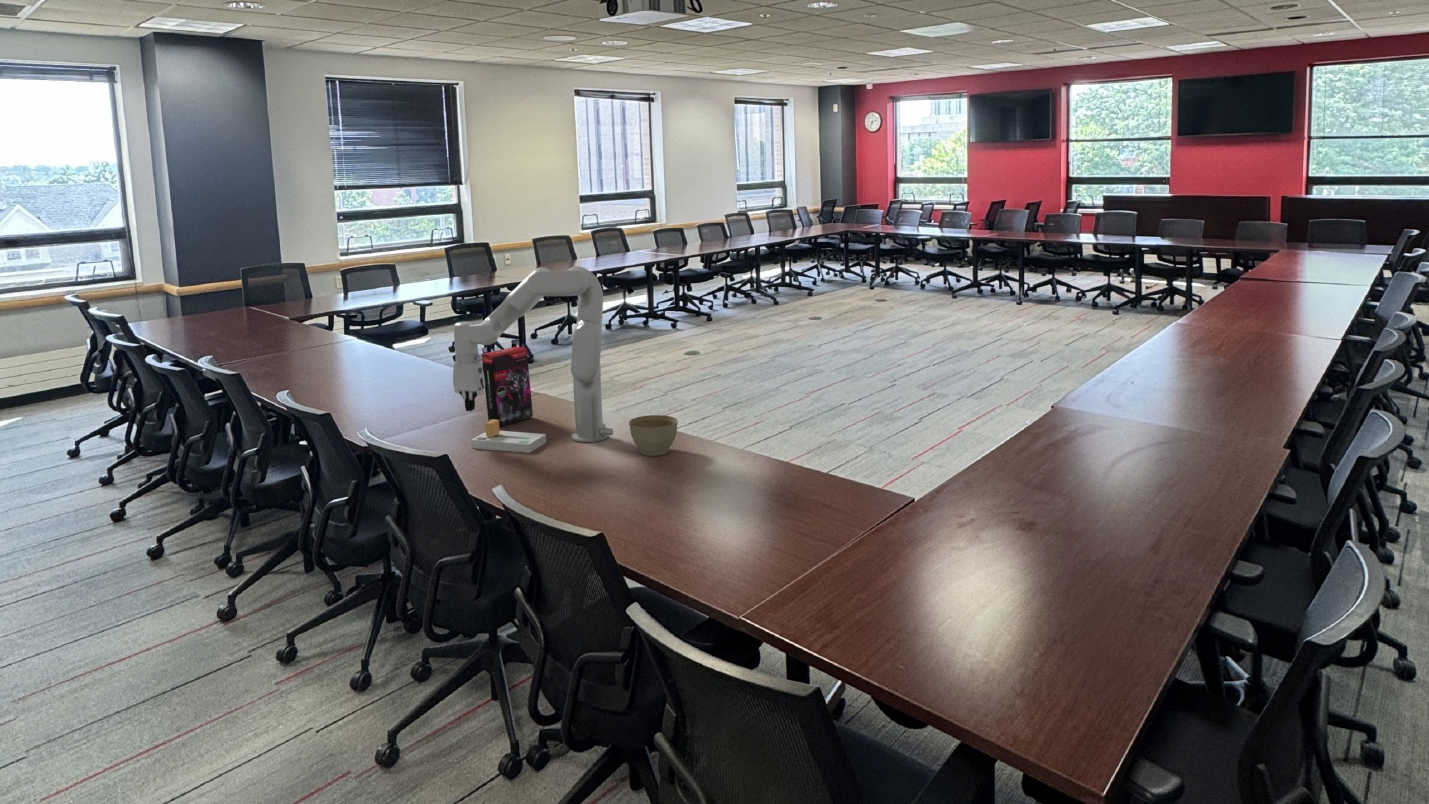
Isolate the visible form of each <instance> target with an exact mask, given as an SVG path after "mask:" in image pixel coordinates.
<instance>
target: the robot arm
mask: <svg viewBox="0 0 1429 804" xmlns="http://www.w3.org/2000/svg"><path fill="white" fill-rule="evenodd" d="M573 296H574V297H575V296H576V297H577V312H576V313H577V314H576V315H577V317H576V324H575V327H574V331H573V334H572V335H573V336H572V348H571V360H570V372H571V373H570V374H571V375H572V380H573V381H572V384H573V402H574V403H573V404H574V423H575V424H574V425H575V431H574V432H573V433H572V434H571V439H572V440H573V441H574V442H578V443H594V442H596V443H597V442H601V441H603V440H606V439H607V438H608V436H613V435H614V429H613V428H612V427H611V428H610V427H607V426H606V423H603V422H604V421H603V420H604V419H603V402H602V401H603V400H602V399H603V397H602V380H601V379H602V375H601V374H602V373H601V372H602V370H601V353H602V352H601V351H602V339H603V329H602V328H603V325H602V324H603V310H604V309H603V308H604V305H603V304H604V292H603V288H602V285H601V283H600V281H599V279H598V278H597V277H596V275H595V274H594V273H593V272H591V271H590V270H588V269H587V268H585V267H583V266H579V265H578V266H577V265H576V266H572V267H570V268H568V269H567V270H565V269H564V270H550V269H549V268H547V267H545V266H543V267H541V266H540V267H537V268H535V269H534V270H532V272H530V273H529V274H528V276H526V277H525V278H524V279H523V280H522V281H521V282H520V283H519V284H518V285H517V286H516V287H515V288H513V290H512V291H511V292H510V293H509V294H508V295H507V296H506V297H505V298H504V299H503V301H502V302H501V303H500V305H498V306H497V307H496V308H495V309H494V310H493V311H492V312H491V313H490V314H489V315H488V316H487V317H486V318H485V319H484V320H483V321H481V323H477V324H476V323H475V322H473V321H458V322H456V323H454V324H453V339H454V353H455V354H454V355H455V361H454V364H453V368H452V369H453V370H452V375H453V376H452V384H453V385H452V386H453V388H454V393H456V394H458V395H460V396H461V397H462V399H463V400H464V407H465V408H464V409H465V411H466V412H472V411H474V410H475V408H476V398H477V396H481V395H484V394H485V393H484V392H485V379H484V372H483V365H482V355H479V346H478V345H482V346H491V345H493V344H495V343H496V342H497V340H498V339H499V338H500V336H501V335H502V334H504V332H505V331H507V329H509V327H511V325H513V324H514V323H515V322H516V321H517V320H519V318H521V317H523V316H525V315H526V314H528V313H529V312H530V310H532V309H533V308H534V307H535V306H536V305H537V304H538V303H539V302H540V301H541V300H542V299H543V298H544V297H573Z"/></svg>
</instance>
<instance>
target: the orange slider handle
mask: <svg viewBox="0 0 1429 804" xmlns="http://www.w3.org/2000/svg"><path fill="white" fill-rule="evenodd" d="M484 424H485V425H484V426H485V432H486V437H498V435H497V434H499V433H500V431H501V430H500V427H499V420H494V419H492V420H490V421H489V422H488V421H487V422H484Z"/></svg>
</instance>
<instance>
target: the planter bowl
mask: <svg viewBox="0 0 1429 804" xmlns="http://www.w3.org/2000/svg"><path fill="white" fill-rule="evenodd" d="M678 422H679V420H678V419H677V418H676V417H674V416H671V415H663V414H653V415H652V414H649V415H643V416H636V417H635V418H632V419H630V420H629V421H628V425H629V431H630V435H631V438H632V440H633V442H634V444H635V445H636V446H637V448H638V449H639V453H640V454H642V455H644V456H649V457H650V456H651V457H654V456H656V457H657V456H662V455H666V454H668V453H669V451H670V448H671V447H672V445H673V443H674V441H675V439H676V436H677V433H678V432H677V431H678Z"/></svg>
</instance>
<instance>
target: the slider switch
mask: <svg viewBox="0 0 1429 804" xmlns="http://www.w3.org/2000/svg"><path fill="white" fill-rule="evenodd" d="M497 435H498V437H486V431H485V432H483V433H480V434H479V435H478V436H476V437H473V438H472V439H471V448H472V449H478V450H480V449H481V450H491V451H503V452H504V451H505V452H515V453H527V454H531V453H532V452H534V451H535V450H537V449H538V448H540V447H542V446H543V445H544V444H546V443H547V436H546V433H536V432H534V433H532V432H524V431H523V432H521V431H507V430H500V433H499V434H497Z"/></svg>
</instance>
